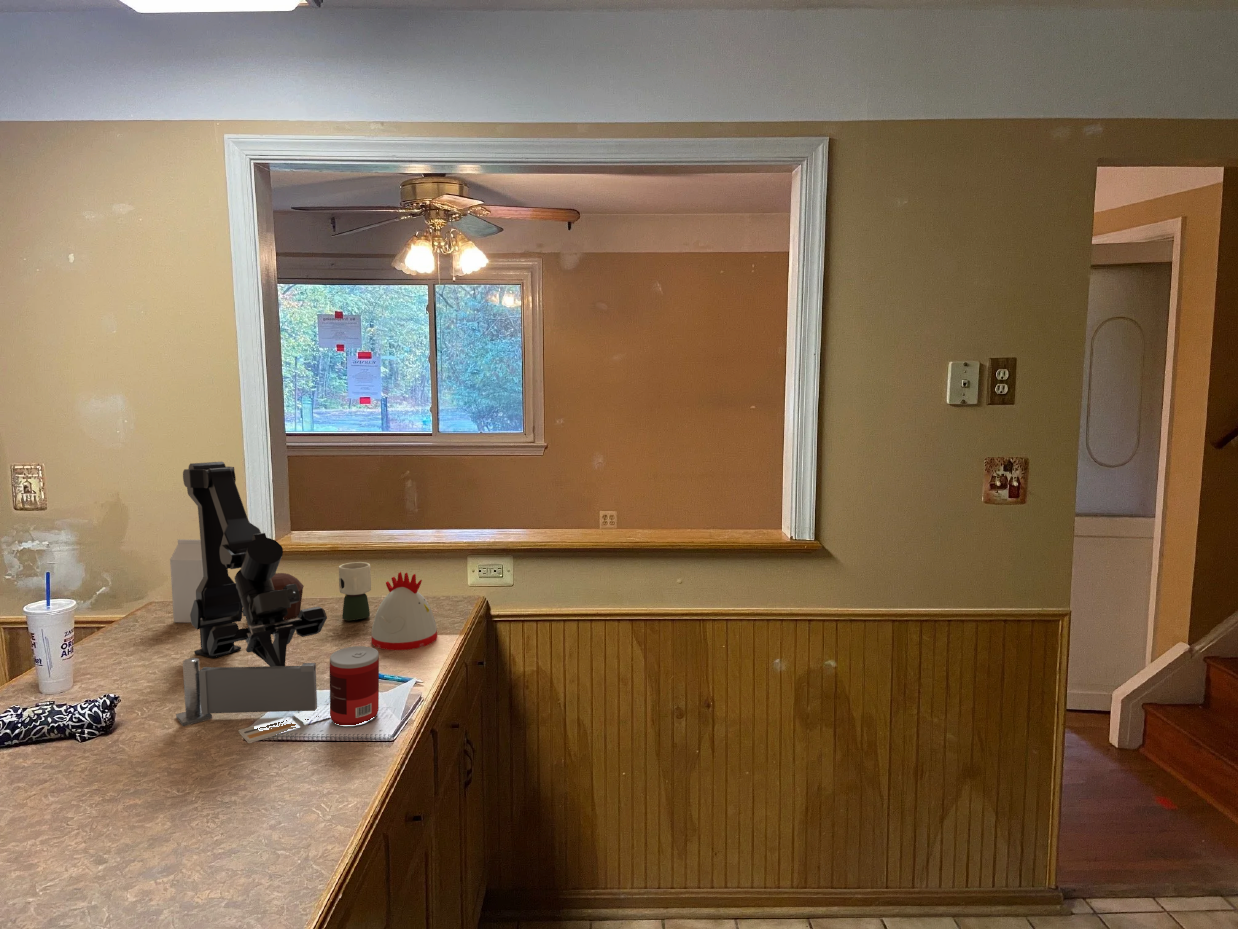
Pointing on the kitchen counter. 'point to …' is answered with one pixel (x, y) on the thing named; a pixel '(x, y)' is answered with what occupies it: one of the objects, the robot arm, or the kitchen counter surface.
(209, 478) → the robot arm
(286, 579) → the muffin
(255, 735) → the label plate beige
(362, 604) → the character mug
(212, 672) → the hinge panel
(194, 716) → the hinge post
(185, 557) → the milk carton
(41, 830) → the kitchen counter surface
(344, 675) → the canned food
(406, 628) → the kitchen timer
